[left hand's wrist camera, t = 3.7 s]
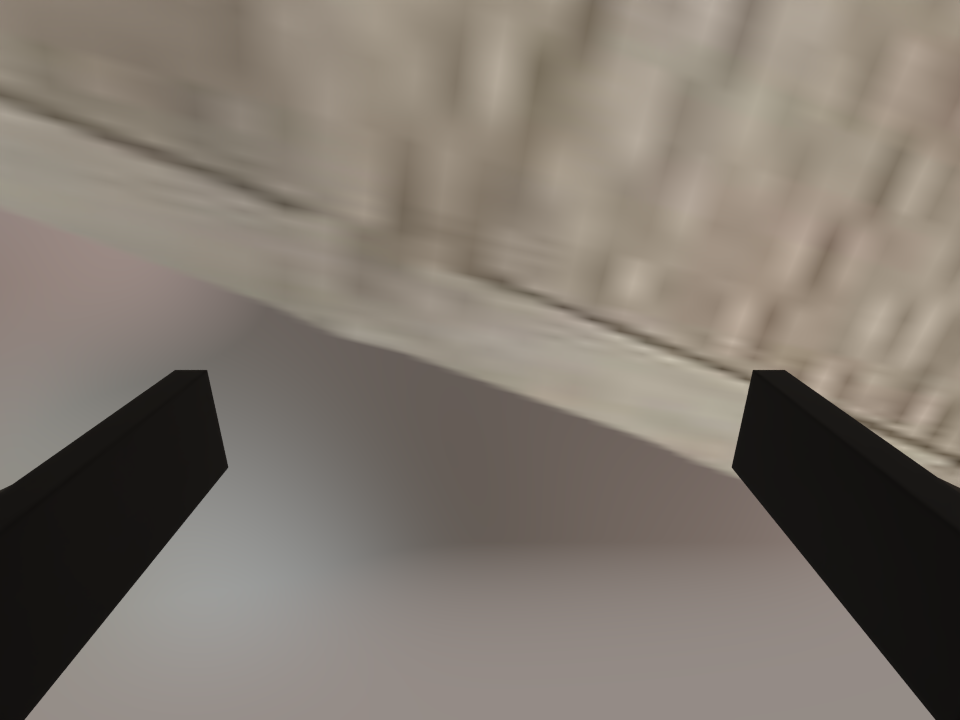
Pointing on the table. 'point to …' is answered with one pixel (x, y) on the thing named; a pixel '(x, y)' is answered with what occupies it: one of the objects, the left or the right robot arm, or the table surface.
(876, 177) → the table surface
